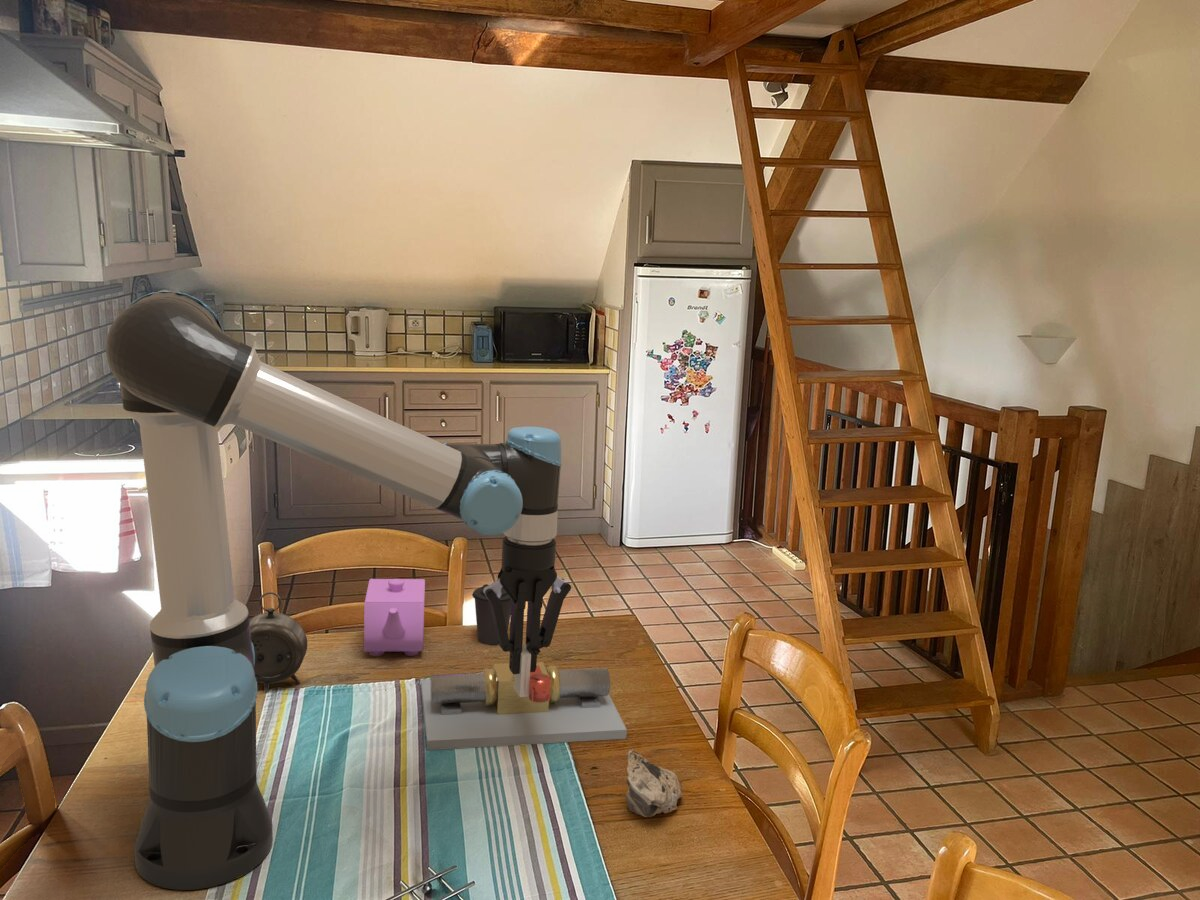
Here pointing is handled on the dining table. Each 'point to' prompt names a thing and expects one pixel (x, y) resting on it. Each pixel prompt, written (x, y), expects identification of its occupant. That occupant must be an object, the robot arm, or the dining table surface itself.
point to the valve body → (500, 692)
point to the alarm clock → (276, 646)
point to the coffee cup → (489, 616)
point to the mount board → (519, 724)
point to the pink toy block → (394, 616)
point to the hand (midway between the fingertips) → (521, 692)
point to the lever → (539, 686)
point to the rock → (650, 787)
